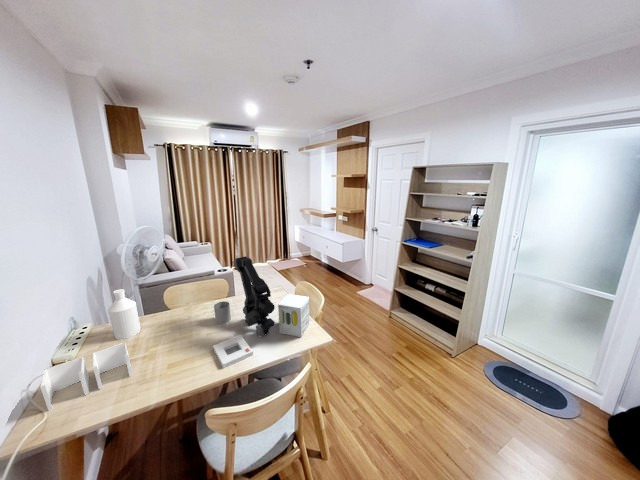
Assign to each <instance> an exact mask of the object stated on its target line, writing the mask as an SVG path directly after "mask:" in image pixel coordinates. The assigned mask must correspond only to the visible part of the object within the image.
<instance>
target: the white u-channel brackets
mask: <svg viewBox="0 0 640 480" xmlns="http://www.w3.org/2000/svg"><path fill="white" fill-rule="evenodd" d="M127 347H128V346H127V342H126V341H124V342H121V343H118V344H115V345H112V346H109V347H106V348H104V349H100V350H98V351H94V352H92V368H93V373H94V375H95V376H94V377H95V380H96V384H97V387H98V390H99V389H100V388H103V389H104V387H103V384H102V380H101V374H100V373H102V372H105V371H107V370H110V369H112V370H114V369H113V368H115V369H117V368H119V366H120V367H122V365H123V366H125V365H126V367H127V372H128V376H129V378H131V377H130V376H132V377H133V375H134V374H133V370H132V366H131V359H130V355H129V352H128V348H127ZM124 364H125V365H124ZM116 367H117V368H116ZM110 371H111V370H110ZM107 372H108V371H107ZM105 373H106V372H105ZM102 374H103V373H102ZM79 381H81V382H79ZM77 382H79V383H80V384H81V386H82V390H83V393H84V396H85V395H86V394H88V393H89V394H90V376H89V372H88V369H87V364H86V361H85V357H84V356H80V357H77V358H74V359H71V360H69V361H64V362H62V363H59V364H57V365H54V366H50V367H48V368H45V369H44V371H43V375H42V379H41V383H40V386H39V388H40V390H41V393H42V395H43V398H44V403H45V404H46V408H47V411H48V410H50V409H53V410H54V407H53V404H51V402H52V403H53V398H52V396H53V397H54V393H55V392H54V391H56V392H58V391H60V390H59V389H61V388H63V389H65V388H64V387H66V388H68V387H67V386H69V385H71V386H73V385H72V384H74V383H76V384H78V383H77ZM74 385H75V384H74ZM69 387H70V386H69ZM57 390H58V391H57ZM61 390H62V389H61ZM53 392H54V393H53ZM86 396H87V395H86ZM50 411H51V410H50Z"/></svg>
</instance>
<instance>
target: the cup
mask: <svg viewBox="0 0 640 480" xmlns="http://www.w3.org/2000/svg"><path fill="white" fill-rule="evenodd" d="M213 309H214V310H213V311H214V317H215V318H214V319H215V323H216V324H218V325H223V324H227V323H230V321H231V320H232V317H231V306H230V302H229V301H219V302H216V303H215V304H214V305H213Z"/></svg>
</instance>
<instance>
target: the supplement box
mask: <svg viewBox="0 0 640 480" xmlns="http://www.w3.org/2000/svg"><path fill="white" fill-rule="evenodd" d="M277 305H278V306H277V307H278V309H277V310H278V326H279V330H278V331H279V334H282V335H288V336H292V337H298V338H302V337H303V336H304V334H305V333H306V331H307V329H308V328H309V326H310V325H311V324H310V296H306V295H299V294H293V293H287V295H285V297H284V298H282V300H281V301H280V302H279V303H278V304H277ZM304 332H305V333H304Z"/></svg>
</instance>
